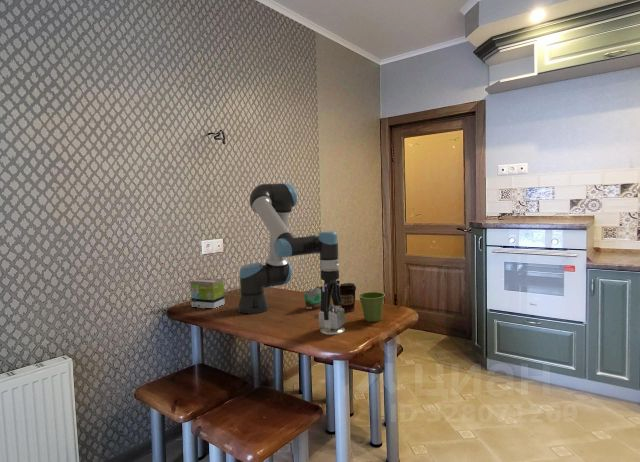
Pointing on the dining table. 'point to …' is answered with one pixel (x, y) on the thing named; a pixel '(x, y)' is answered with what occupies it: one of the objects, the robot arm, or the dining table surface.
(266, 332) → the dining table surface
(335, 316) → the collar
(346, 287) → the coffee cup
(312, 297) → the food container
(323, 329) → the post
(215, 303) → the tea box
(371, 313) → the plant pot
